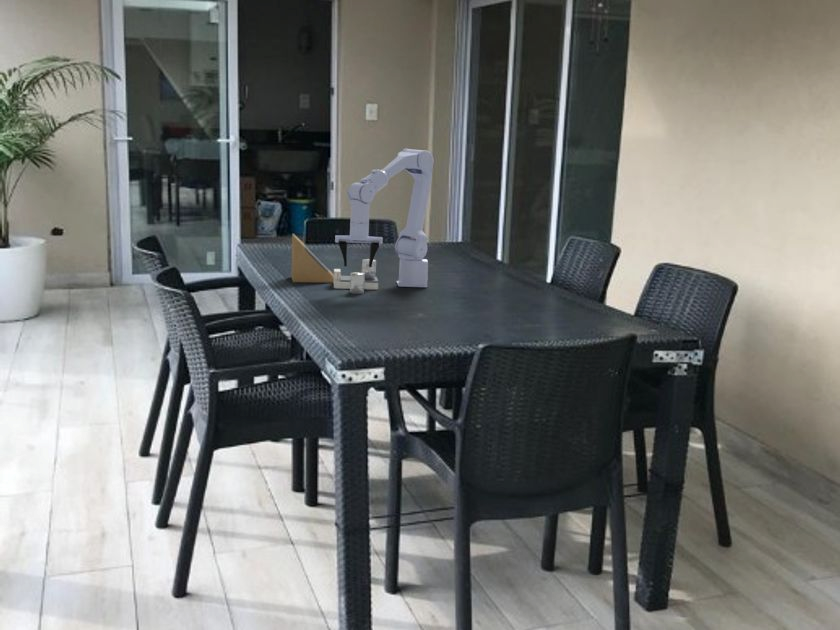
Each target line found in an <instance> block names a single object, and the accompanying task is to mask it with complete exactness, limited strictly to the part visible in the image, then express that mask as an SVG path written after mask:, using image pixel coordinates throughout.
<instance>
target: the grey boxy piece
mask: <svg viewBox="0 0 840 630" xmlns="http://www.w3.org/2000/svg"><path fill="white" fill-rule="evenodd" d="M350 277H351V275H342V271H341V268H333V278H334V280H333V282H332V283H333V289H347V290H348V289H349V290H350ZM364 290H379V279H378V277H377V276H375V280H365V281H364Z"/></svg>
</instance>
